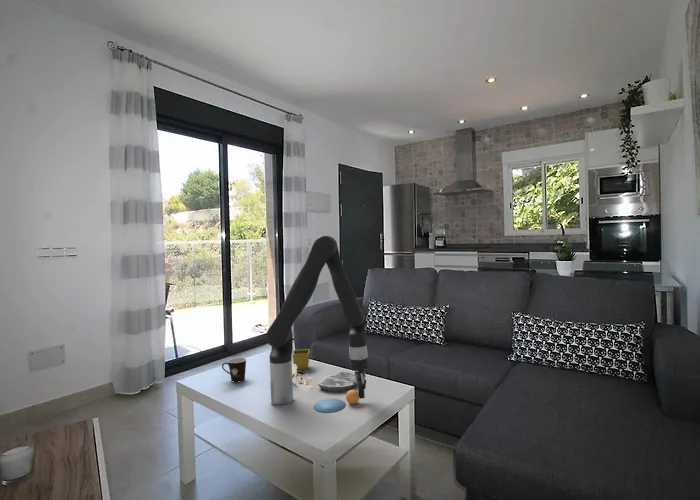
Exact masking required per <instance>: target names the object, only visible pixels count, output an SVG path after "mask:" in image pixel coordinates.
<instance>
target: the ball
mask: <svg viewBox="0 0 700 500" xmlns="http://www.w3.org/2000/svg"><path fill="white" fill-rule="evenodd" d="M345 398H346V399H345V400H346V401H347V403H348V404H351V405H355V404H357V403H358V402H359V400H360V398H359V393H358V390H355V389H349V390H348V391H347V393H346V395H345Z"/></svg>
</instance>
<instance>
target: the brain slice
mask: <svg viewBox="0 0 700 500" xmlns="http://www.w3.org/2000/svg"><path fill="white" fill-rule="evenodd" d="M355 386H357V384H356V377H355V374H353V373H350V372H346V371H345V372H344V371H343V372H342V371H341V372H338V373H335V374H331V375H327V376H324V377H323V378H322V380H321V381H319V382H318V387H319V388H320V389H322V390H326V391H327V392H328V391H329V392H330V393H332V392H340V391H346V390H350V389H351V388H353V387H355Z"/></svg>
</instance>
